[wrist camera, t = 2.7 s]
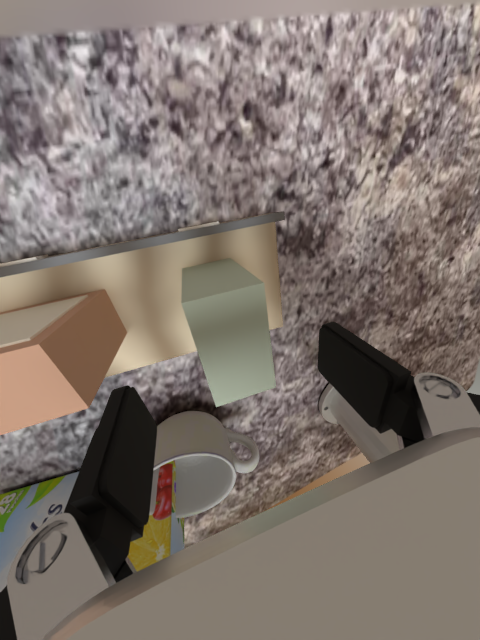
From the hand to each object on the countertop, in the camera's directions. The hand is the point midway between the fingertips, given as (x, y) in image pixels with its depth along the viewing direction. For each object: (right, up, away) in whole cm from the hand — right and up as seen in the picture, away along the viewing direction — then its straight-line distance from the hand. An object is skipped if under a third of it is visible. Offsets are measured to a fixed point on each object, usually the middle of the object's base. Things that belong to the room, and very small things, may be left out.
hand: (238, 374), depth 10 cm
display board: (-8, +4, +10) cm, 14 cm away
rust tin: (-15, +2, +8) cm, 17 cm away
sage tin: (-2, +4, +10) cm, 11 cm away
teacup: (-6, -12, +19) cm, 23 cm away
